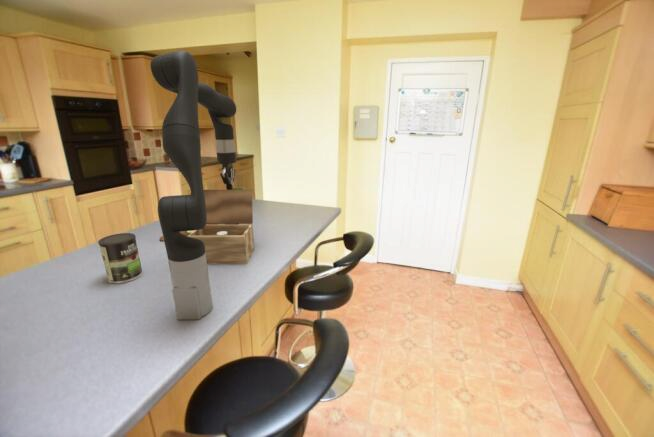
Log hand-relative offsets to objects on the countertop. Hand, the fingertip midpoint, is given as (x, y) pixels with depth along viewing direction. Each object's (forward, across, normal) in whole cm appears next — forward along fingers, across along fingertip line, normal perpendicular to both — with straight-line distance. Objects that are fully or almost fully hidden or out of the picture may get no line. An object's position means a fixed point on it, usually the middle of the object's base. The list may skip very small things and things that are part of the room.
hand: (230, 192), depth 127 cm
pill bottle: (+22, -15, 0) cm, 26 cm away
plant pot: (+22, +58, +15) cm, 64 cm away
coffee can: (+23, -31, +29) cm, 48 cm away
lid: (+4, -7, 0) cm, 8 cm away
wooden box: (+22, -15, 0) cm, 27 cm away
